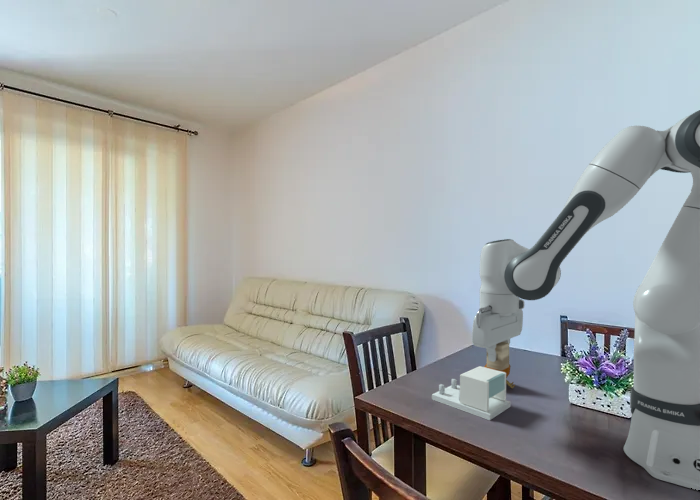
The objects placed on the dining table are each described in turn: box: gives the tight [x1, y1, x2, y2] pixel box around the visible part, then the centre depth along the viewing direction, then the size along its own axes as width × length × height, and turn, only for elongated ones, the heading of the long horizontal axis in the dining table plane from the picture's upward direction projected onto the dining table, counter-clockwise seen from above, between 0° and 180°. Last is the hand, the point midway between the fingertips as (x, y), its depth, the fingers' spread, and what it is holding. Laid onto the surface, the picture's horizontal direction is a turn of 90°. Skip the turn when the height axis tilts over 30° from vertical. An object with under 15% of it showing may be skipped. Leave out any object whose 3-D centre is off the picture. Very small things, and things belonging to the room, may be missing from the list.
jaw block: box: [486, 342, 510, 370], centre depth 95 cm, size 4×4×6 cm
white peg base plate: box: [431, 378, 511, 421], centre depth 108 cm, size 18×12×4 cm, turn 43°
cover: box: [459, 365, 507, 412], centre depth 105 cm, size 8×11×8 cm
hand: (498, 358), depth 95 cm, fingers closed on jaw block, 4 cm apart
